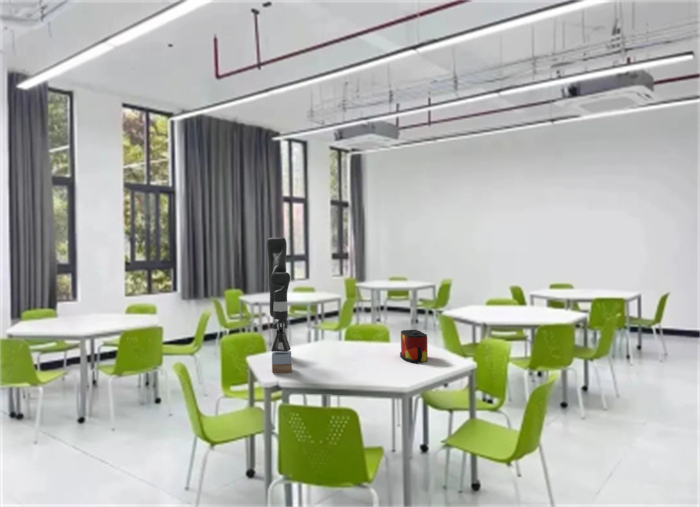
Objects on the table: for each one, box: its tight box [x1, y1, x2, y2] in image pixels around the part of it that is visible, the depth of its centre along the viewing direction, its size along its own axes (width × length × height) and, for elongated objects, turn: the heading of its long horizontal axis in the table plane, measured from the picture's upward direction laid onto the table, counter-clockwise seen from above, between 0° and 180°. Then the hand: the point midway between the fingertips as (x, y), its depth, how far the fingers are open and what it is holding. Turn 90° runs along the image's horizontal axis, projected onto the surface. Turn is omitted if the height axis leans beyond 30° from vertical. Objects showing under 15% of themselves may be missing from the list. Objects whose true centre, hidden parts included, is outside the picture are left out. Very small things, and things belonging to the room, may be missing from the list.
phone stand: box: [270, 328, 291, 352], centre depth 277 cm, size 9×6×12 cm, turn 80°
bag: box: [399, 329, 428, 365], centre depth 308 cm, size 30×14×16 cm, turn 8°
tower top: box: [271, 350, 292, 366], centre depth 278 cm, size 10×10×5 cm
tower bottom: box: [271, 362, 293, 374], centre depth 278 cm, size 10×10×5 cm
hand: (280, 341), depth 277 cm, fingers closed on phone stand, 6 cm apart
